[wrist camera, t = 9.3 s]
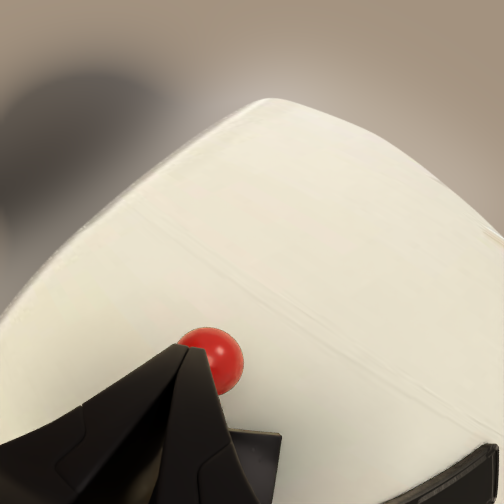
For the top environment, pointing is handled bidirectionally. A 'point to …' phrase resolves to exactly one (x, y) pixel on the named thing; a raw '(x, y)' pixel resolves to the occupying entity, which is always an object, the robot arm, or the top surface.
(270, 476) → the bracket
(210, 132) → the top surface
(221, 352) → the lever
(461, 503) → the phone
